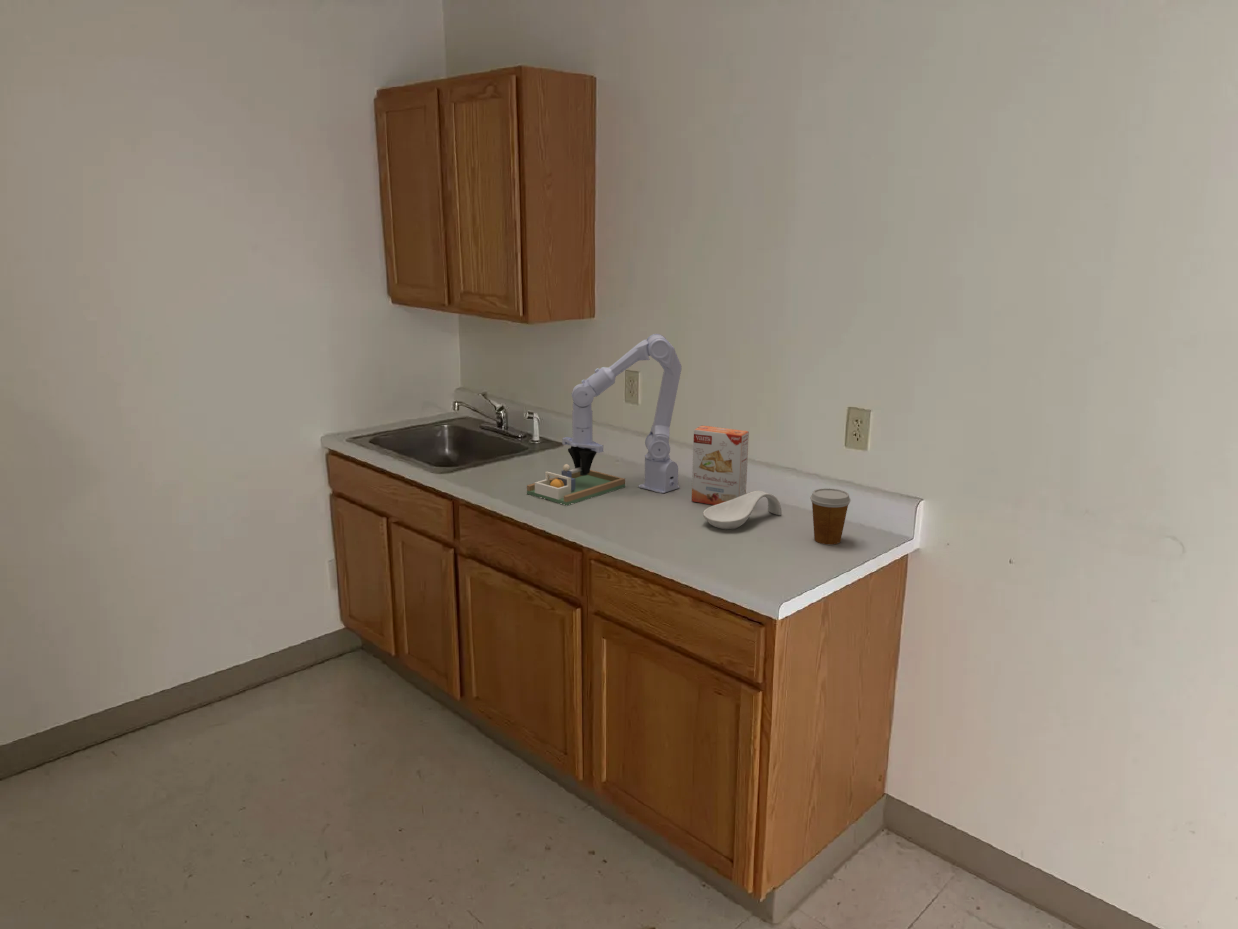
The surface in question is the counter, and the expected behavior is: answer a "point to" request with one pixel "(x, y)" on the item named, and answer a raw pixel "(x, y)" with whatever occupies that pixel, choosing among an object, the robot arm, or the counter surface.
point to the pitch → (576, 487)
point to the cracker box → (719, 464)
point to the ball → (557, 483)
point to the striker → (568, 473)
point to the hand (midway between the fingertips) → (582, 472)
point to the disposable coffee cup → (829, 514)
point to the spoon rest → (739, 510)
